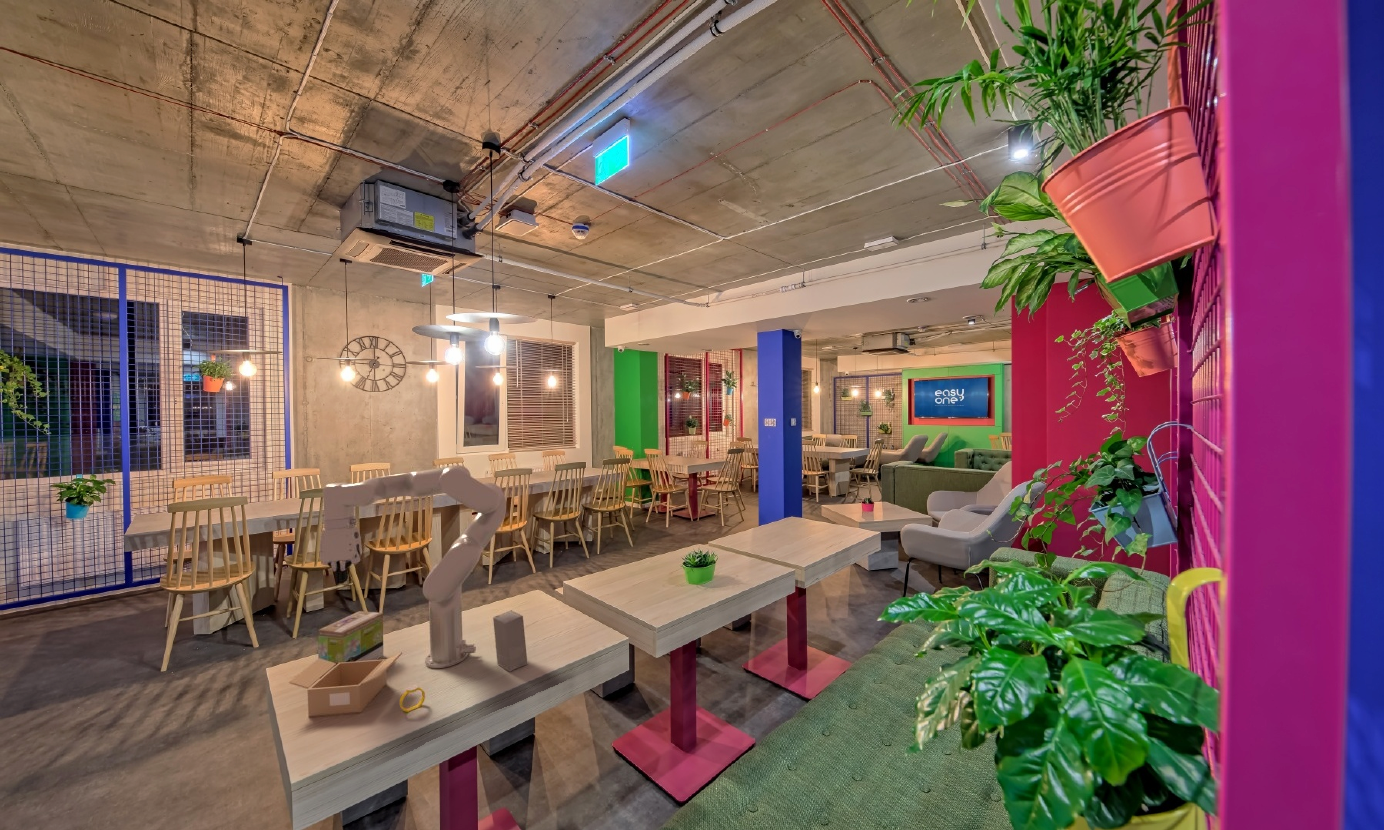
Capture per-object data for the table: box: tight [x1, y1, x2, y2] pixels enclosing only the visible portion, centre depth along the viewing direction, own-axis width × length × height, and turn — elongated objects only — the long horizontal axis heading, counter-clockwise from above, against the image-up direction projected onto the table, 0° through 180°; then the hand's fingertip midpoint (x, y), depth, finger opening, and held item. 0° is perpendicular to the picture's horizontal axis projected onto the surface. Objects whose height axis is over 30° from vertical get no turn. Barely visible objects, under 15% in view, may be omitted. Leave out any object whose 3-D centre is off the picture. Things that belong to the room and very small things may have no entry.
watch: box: [399, 684, 426, 713], centre depth 135 cm, size 6×3×6 cm, turn 136°
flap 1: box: [288, 658, 336, 690], centre depth 138 cm, size 5×12×1 cm, turn 6°
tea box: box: [317, 610, 384, 678], centre depth 158 cm, size 15×10×15 cm, turn 168°
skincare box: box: [492, 610, 528, 672], centre depth 157 cm, size 8×7×16 cm
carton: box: [307, 658, 387, 718], centre depth 139 cm, size 13×14×8 cm
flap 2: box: [362, 652, 403, 684], centre depth 140 cm, size 5×12×1 cm, turn 6°
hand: (341, 582), depth 152 cm, fingers closed
